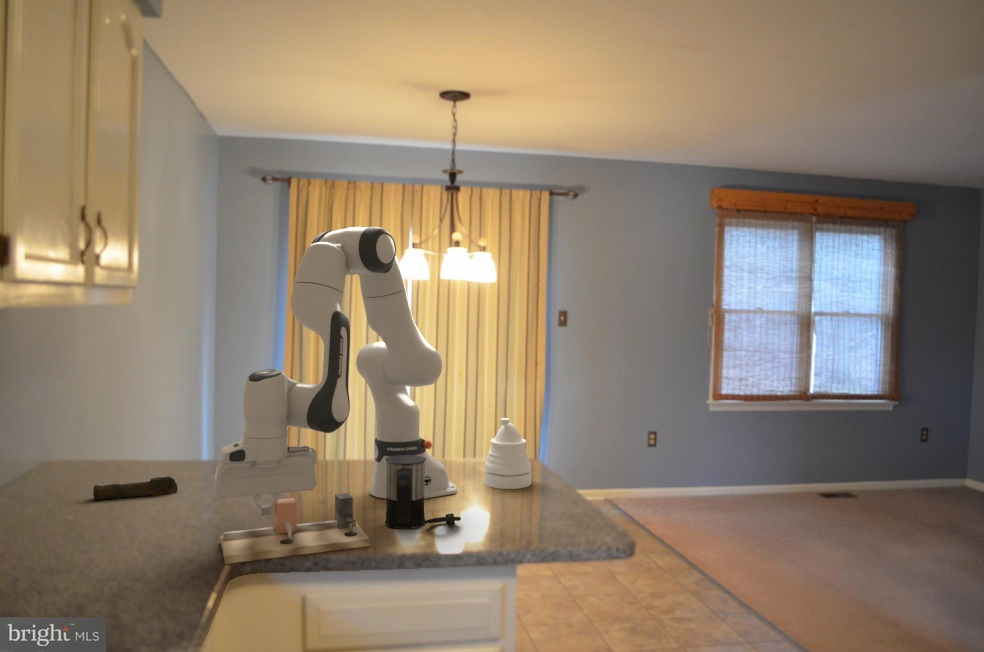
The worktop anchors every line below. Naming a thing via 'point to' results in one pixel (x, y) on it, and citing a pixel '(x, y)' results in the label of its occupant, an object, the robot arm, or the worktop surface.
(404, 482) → the milk frother
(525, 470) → the honey pot
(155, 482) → the hand tool
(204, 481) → the worktop surface
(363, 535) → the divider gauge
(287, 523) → the block
